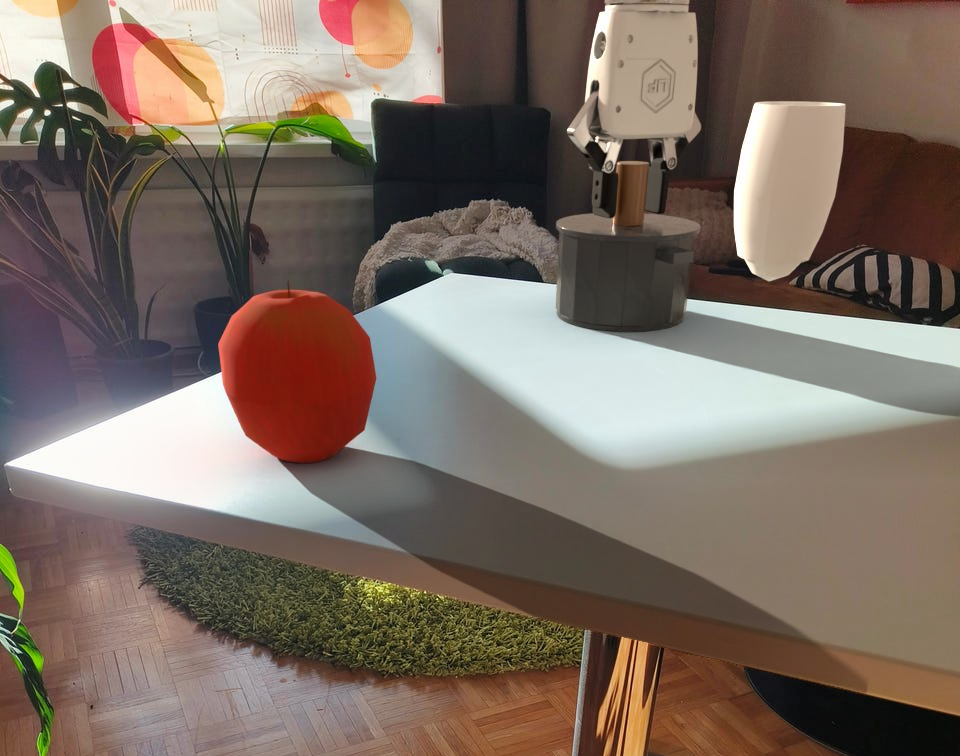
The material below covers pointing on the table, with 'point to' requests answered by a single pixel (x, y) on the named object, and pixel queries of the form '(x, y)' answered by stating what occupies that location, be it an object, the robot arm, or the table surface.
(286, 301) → the apple
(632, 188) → the lid
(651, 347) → the table surface
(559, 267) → the pot
